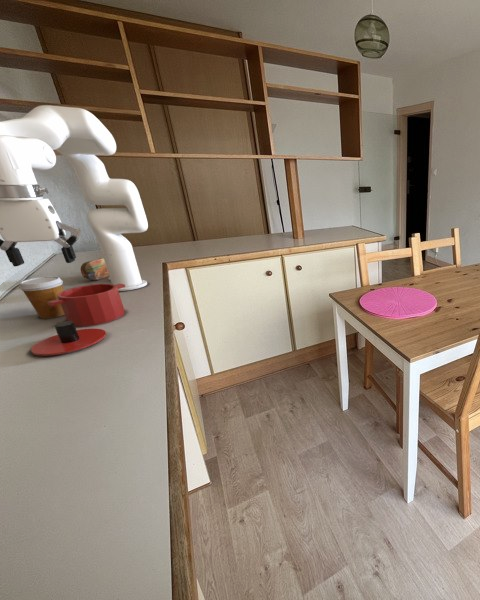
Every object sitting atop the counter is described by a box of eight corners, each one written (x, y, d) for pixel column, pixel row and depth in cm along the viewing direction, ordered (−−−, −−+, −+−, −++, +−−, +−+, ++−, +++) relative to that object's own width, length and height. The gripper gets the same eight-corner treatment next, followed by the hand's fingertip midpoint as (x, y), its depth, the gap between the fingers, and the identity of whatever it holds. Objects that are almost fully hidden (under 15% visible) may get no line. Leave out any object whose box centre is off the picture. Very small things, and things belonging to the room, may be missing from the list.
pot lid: (19, 351, 82) (9, 330, 80) (87, 328, 95) (80, 310, 93) (53, 362, 78) (43, 340, 75) (119, 336, 90) (112, 317, 88)
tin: (90, 282, 134) (83, 263, 131) (82, 282, 134) (75, 263, 131) (119, 272, 148) (114, 255, 145) (113, 272, 148) (107, 255, 145)
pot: (46, 325, 96) (34, 297, 92) (116, 304, 113) (108, 279, 109) (74, 333, 92) (62, 303, 88) (142, 310, 108) (135, 284, 105)
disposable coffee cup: (32, 314, 103) (17, 279, 99) (73, 307, 110) (60, 274, 105) (32, 323, 97) (16, 286, 93) (75, 314, 104) (62, 280, 99)
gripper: (73, 192, 80) (95, 257, 86) (-25, 191, 73) (7, 262, 79) (59, 194, 74) (84, 264, 80) (-50, 193, 67) (-13, 270, 73)
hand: (45, 263), depth 80 cm, fingers open, 9 cm apart
